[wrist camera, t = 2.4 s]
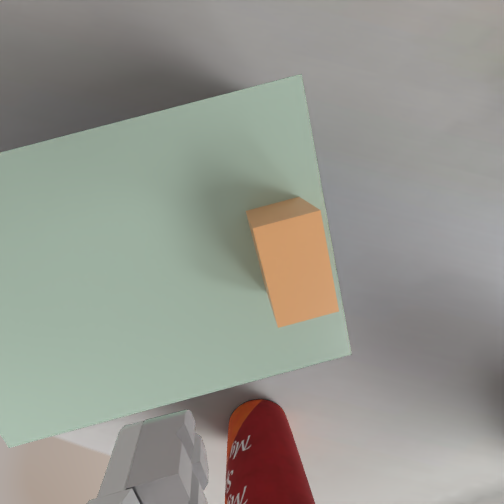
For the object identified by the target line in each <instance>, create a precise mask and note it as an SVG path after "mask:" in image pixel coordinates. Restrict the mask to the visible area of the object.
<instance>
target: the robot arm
mask: <svg viewBox="0 0 504 504" xmlns="http://www.w3.org/2000/svg"><path fill="white" fill-rule="evenodd" d="M207 484H208V460H207V453H206V449H205V445H204V442H203V440H202V437H201V436H200V435H198V434H196V433H195V420H194V417H193V415H192V413H191V411H190V410H188V409H187V410H183V411H179V412H175V413H171V414H167V415H163V416H159V417H155V418H151V419H147V420H145V421H141V422H137V423H133V424H129V425H125V426H124V427H123V428H122V429H121V430H120V432H119V434H118V437H117V440H116V443H115V446H114V449H113V452H112V455H111V458H110V461H109V464H108V467H107V470H106V473H105V476H104V479H103V482H102V484H101V487H100V490H99V494H98V496H97V498H96V499H92V500H89V502H88V503H87V504H208V502H207V499H206V497H205V494H204V492H203V490H204V489H205V487H206V485H207Z"/></svg>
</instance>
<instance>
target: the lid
mask: <svg viewBox="0 0 504 504" xmlns="http://www.w3.org/2000/svg"><path fill="white" fill-rule="evenodd" d="M348 355H352V353H351V348H350V342H349V337H348V331H347V325H346V320H345V314H344V309H343V303H342V297H341V292H340V286H339V281H338V275H337V269H336V264H335V258H334V253H333V247H332V241H331V236H330V230H329V225H328V219H327V213H326V208H325V202H324V197H323V191H322V185H321V180H320V174H319V169H318V163H317V158H316V152H315V146H314V141H313V135H312V130H311V124H310V118H309V113H308V107H307V102H306V96H305V90H304V85H303V79H302V74H299V75H296V76H292V77H288V78H284V79H280V80H276V81H273V82H269V83H265V84H261V85H257V86H253V87H250V88H246V89H242V90H238V91H234V92H230V93H227V94H223V95H219V96H215V97H211V98H207V99H204V100H200V101H196V102H192V103H188V104H184V105H181V106H177V107H173V108H169V109H165V110H161V111H158V112H154V113H150V114H146V115H142V116H138V117H135V118H131V119H127V120H123V121H119V122H115V123H112V124H108V125H104V126H100V127H96V128H92V129H89V130H85V131H81V132H77V133H73V134H69V135H66V136H62V137H58V138H54V139H50V140H46V141H43V142H39V143H35V144H31V145H27V146H23V147H20V148H16V149H12V150H8V151H4V152H0V435H1V436H2V438H3V440H4V441H5V443H6V444H7V446H8V447H9V448H10V447H14V446H18V445H21V444H25V443H29V442H33V441H36V440H39V439H43V438H47V437H51V436H55V435H58V434H62V433H66V432H69V431H73V430H77V429H80V428H84V427H88V426H91V425H95V424H99V423H102V422H106V421H110V420H113V419H117V418H121V417H124V416H128V415H132V414H135V413H139V412H143V411H146V410H150V409H154V408H157V407H161V406H165V405H168V404H172V403H176V402H179V401H183V400H187V399H190V398H194V397H198V396H201V395H205V394H209V393H212V392H216V391H220V390H223V389H227V388H231V387H234V386H238V385H242V384H245V383H249V382H253V381H256V380H260V379H264V378H267V377H271V376H275V375H278V374H282V373H286V372H289V371H293V370H297V369H300V368H304V367H308V366H311V365H315V364H319V363H323V362H326V361H330V360H334V359H337V358H341V357H345V356H348Z"/></svg>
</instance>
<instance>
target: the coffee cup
mask: <svg viewBox="0 0 504 504" xmlns="http://www.w3.org/2000/svg"><path fill="white" fill-rule="evenodd" d="M225 504H315V502H314V499H313V496H312V493H311V490H310V486H309V483H308V480H307V477H306V474H305V471H304V468H303V465H302V462H301V459H300V456H299V453H298V450H297V447H296V444H295V441H294V438H293V435H292V432H291V429H290V426H289V423H288V420H287V418H286V415H285V413H284V411H283V410H282V408H281V407H280V406H279V405H277V404H276V403H274V402H272V401H269V400H264V399H257V400H251V401H248V402H245V403H243V404H242V405H240V406H239V407H238V408H236V410H235V411H234V412H233V413H232V415H231V417H230V421H229V427H228V442H227V464H226V488H225Z"/></svg>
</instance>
